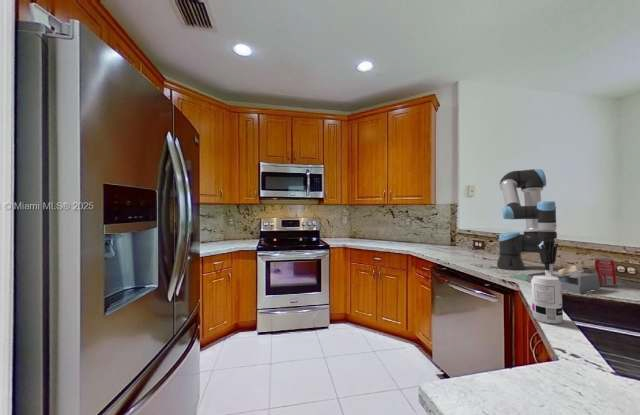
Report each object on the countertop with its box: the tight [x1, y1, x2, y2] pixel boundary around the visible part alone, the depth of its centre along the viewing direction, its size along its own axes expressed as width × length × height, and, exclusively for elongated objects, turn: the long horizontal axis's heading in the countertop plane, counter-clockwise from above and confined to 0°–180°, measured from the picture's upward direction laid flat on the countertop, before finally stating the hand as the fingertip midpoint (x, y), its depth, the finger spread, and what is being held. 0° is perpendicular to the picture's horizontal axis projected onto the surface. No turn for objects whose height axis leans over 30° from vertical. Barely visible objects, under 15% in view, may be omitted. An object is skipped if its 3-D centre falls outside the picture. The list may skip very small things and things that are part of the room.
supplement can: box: [530, 275, 564, 324], centre depth 97 cm, size 8×8×15 cm
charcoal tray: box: [526, 271, 601, 294], centre depth 139 cm, size 23×15×8 cm, turn 20°
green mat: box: [508, 273, 528, 282], centre depth 156 cm, size 10×12×1 cm
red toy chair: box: [594, 257, 617, 288], centre depth 138 cm, size 7×7×13 cm
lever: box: [552, 269, 585, 279], centre depth 138 cm, size 18×13×2 cm
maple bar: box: [557, 264, 584, 275], centre depth 135 cm, size 8×4×2 cm, turn 19°
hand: (549, 276), depth 144 cm, fingers closed
